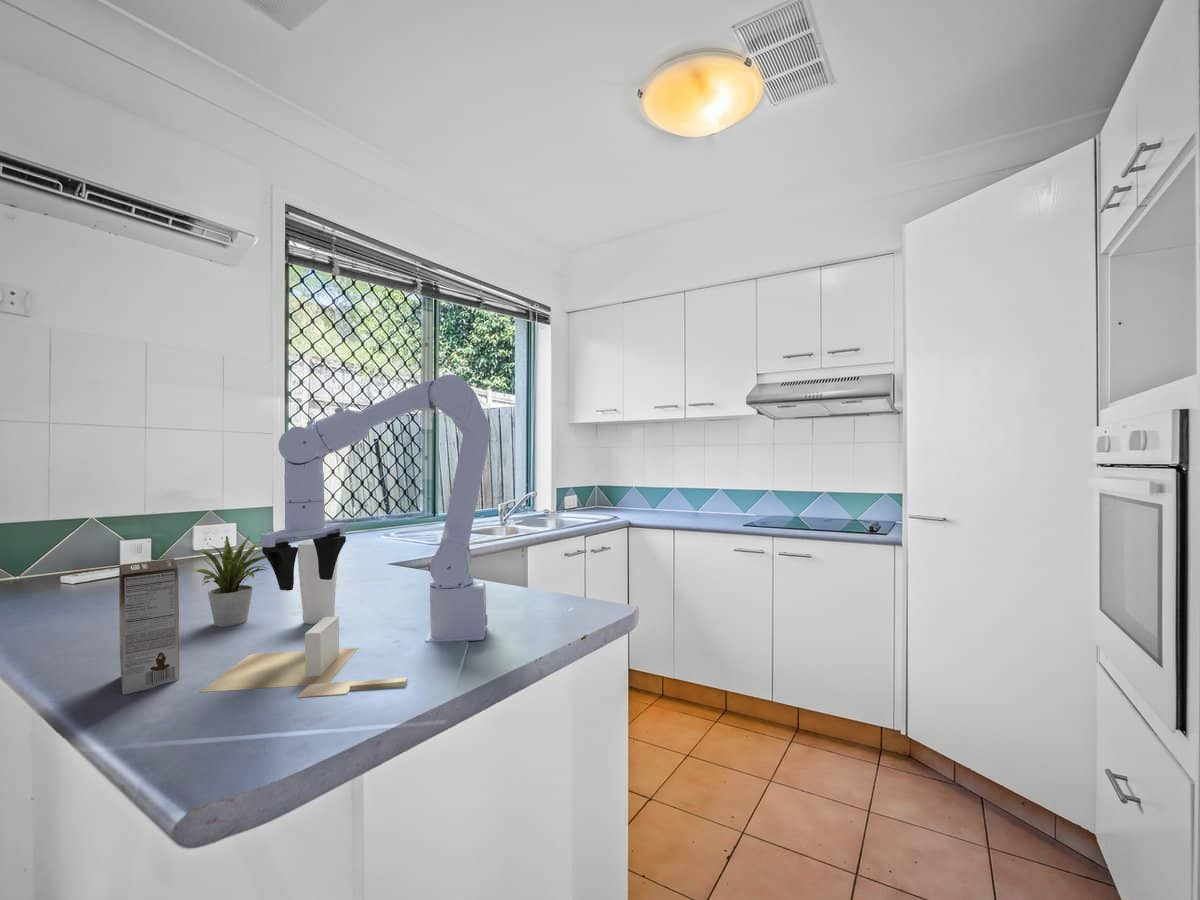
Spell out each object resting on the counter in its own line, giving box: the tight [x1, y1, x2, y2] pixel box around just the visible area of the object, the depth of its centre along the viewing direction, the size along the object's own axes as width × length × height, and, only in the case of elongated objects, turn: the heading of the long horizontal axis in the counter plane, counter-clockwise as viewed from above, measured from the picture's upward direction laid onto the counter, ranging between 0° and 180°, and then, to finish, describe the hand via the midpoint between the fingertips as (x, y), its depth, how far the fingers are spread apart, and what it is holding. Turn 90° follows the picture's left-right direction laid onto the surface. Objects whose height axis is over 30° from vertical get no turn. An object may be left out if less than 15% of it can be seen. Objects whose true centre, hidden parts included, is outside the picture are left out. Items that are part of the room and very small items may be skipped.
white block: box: [304, 616, 340, 677], centre depth 83 cm, size 2×8×6 cm, turn 8°
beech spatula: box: [296, 676, 408, 699], centre depth 75 cm, size 13×4×1 cm, turn 98°
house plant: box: [193, 535, 270, 628], centre depth 105 cm, size 14×14×16 cm
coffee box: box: [118, 558, 180, 696], centre depth 80 cm, size 9×6×16 cm
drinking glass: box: [297, 539, 339, 626], centre depth 106 cm, size 7×7×15 cm
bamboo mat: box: [199, 647, 359, 693], centre depth 82 cm, size 16×14×1 cm
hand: (306, 584), depth 93 cm, fingers open, 7 cm apart
